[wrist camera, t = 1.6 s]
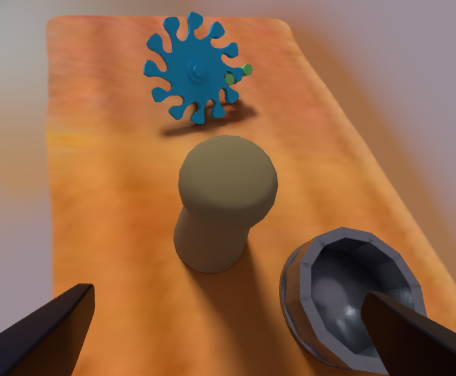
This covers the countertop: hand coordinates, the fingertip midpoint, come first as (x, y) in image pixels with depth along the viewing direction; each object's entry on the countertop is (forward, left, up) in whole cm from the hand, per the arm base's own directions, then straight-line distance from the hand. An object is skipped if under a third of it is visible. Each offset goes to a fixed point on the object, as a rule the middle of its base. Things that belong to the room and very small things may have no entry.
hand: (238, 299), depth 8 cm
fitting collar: (+3, -10, -12) cm, 16 cm away
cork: (+6, +1, -12) cm, 14 cm away
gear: (+21, +5, -12) cm, 25 cm away
